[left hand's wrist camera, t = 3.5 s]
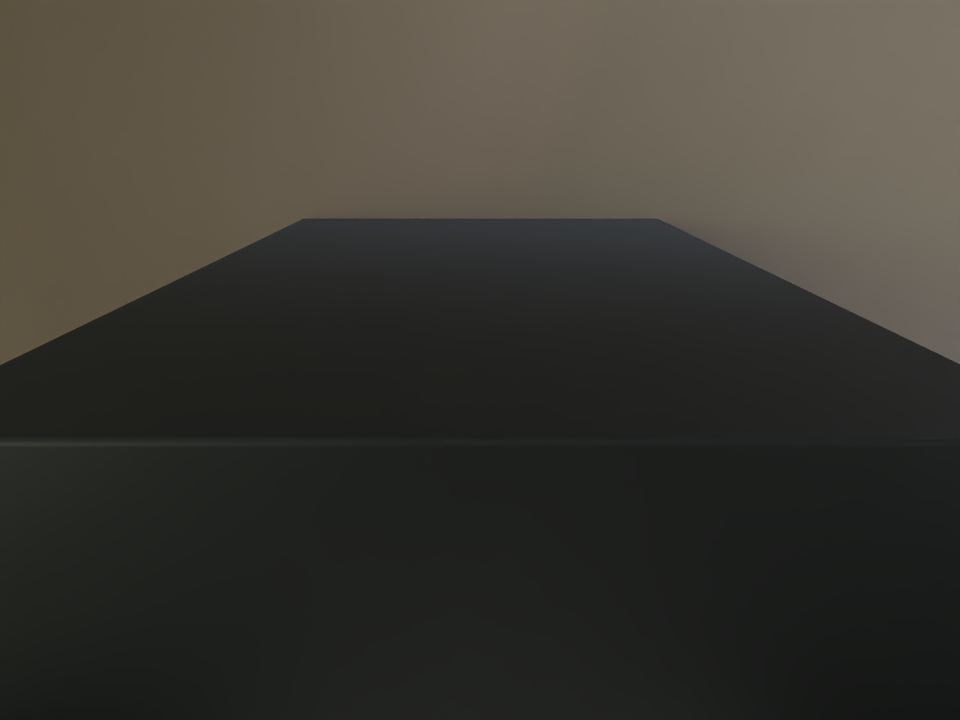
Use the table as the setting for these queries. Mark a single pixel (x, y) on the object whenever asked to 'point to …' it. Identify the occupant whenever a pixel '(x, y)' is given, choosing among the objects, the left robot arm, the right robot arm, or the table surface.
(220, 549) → the box
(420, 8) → the table surface
